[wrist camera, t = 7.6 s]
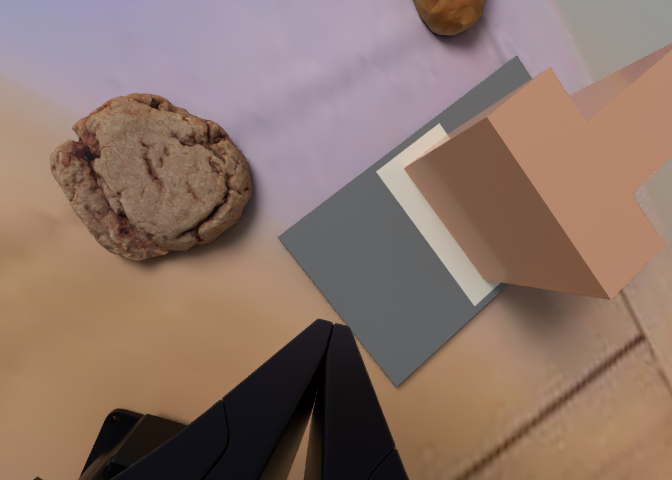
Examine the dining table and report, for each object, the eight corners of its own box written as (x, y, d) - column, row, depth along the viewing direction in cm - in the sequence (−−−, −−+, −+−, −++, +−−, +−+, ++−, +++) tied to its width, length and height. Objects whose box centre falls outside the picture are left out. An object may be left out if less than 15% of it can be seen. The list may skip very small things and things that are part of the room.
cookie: (258, 249, 21) (255, 250, 18) (78, 265, 19) (43, 269, 16) (245, 101, 21) (240, 78, 18) (64, 102, 19) (26, 76, 16)
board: (393, 383, 22) (396, 387, 22) (277, 237, 21) (277, 237, 21) (599, 194, 26) (606, 193, 25) (511, 60, 25) (516, 55, 24)
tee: (483, 279, 23) (611, 300, 14) (403, 168, 22) (486, 116, 14) (590, 183, 25) (760, 149, 16) (520, 76, 24) (661, -21, 15)
